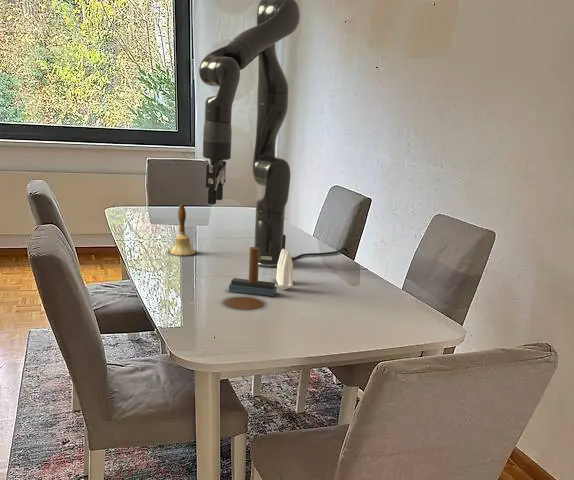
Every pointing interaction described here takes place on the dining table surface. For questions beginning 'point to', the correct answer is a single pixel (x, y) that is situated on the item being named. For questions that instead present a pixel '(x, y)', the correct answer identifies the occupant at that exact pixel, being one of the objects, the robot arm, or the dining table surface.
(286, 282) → the shaker set
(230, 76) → the robot arm
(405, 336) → the dining table surface
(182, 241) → the hand bell
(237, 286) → the sponge wiper
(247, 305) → the brown round coaster
